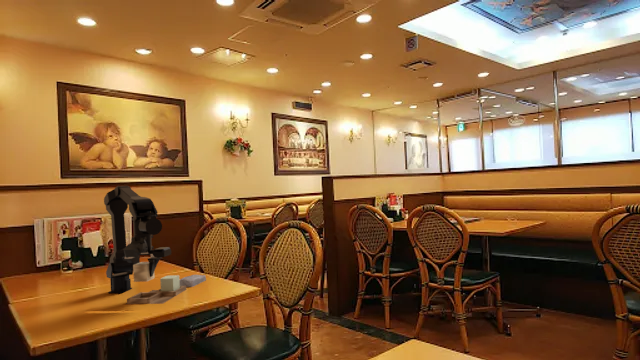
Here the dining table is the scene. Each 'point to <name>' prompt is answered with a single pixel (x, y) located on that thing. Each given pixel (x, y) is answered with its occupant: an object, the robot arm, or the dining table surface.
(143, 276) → the oak block
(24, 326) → the dining table surface
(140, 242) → the robot arm
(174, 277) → the sage block
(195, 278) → the stone block
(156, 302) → the walnut base board
